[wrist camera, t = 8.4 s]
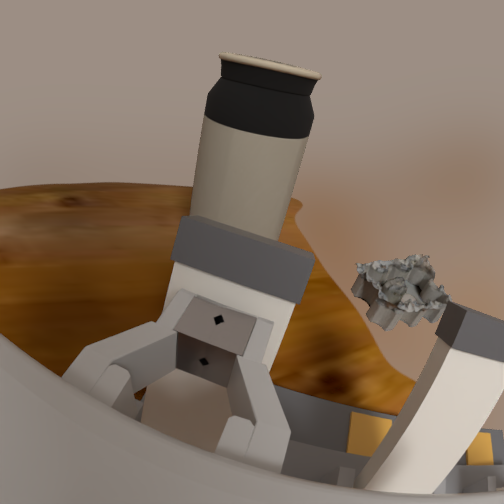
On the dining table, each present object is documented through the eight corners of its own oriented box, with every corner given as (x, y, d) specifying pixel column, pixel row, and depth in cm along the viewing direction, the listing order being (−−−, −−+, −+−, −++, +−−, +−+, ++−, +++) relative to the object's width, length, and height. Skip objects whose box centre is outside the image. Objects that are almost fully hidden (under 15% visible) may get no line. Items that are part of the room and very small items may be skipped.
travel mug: (190, 289, 26) (227, 54, 16) (181, 234, 32) (209, 49, 21) (279, 287, 28) (346, 81, 18) (256, 235, 34) (299, 66, 24)
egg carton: (414, 280, 35) (430, 253, 32) (445, 327, 29) (466, 299, 26) (341, 278, 32) (357, 246, 30) (371, 335, 26) (393, 302, 24)
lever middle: (411, 520, 10) (533, 335, 9) (340, 516, 10) (466, 310, 9) (405, 501, 12) (513, 324, 10) (338, 495, 12) (448, 300, 11)
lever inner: (220, 490, 11) (315, 260, 9) (132, 454, 11) (182, 216, 10) (227, 468, 13) (313, 253, 11) (146, 435, 13) (197, 215, 11)
